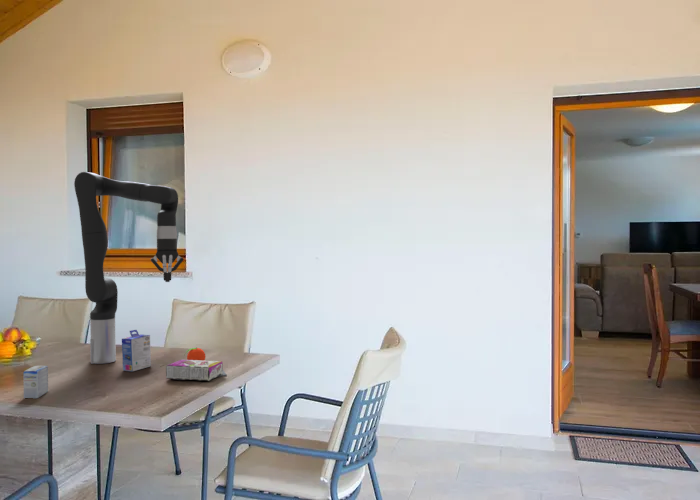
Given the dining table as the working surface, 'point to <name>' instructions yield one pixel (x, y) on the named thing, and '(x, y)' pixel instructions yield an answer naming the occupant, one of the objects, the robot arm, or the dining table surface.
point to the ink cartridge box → (136, 352)
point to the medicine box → (35, 381)
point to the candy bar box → (194, 370)
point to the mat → (218, 376)
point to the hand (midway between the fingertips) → (167, 281)
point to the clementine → (196, 354)
